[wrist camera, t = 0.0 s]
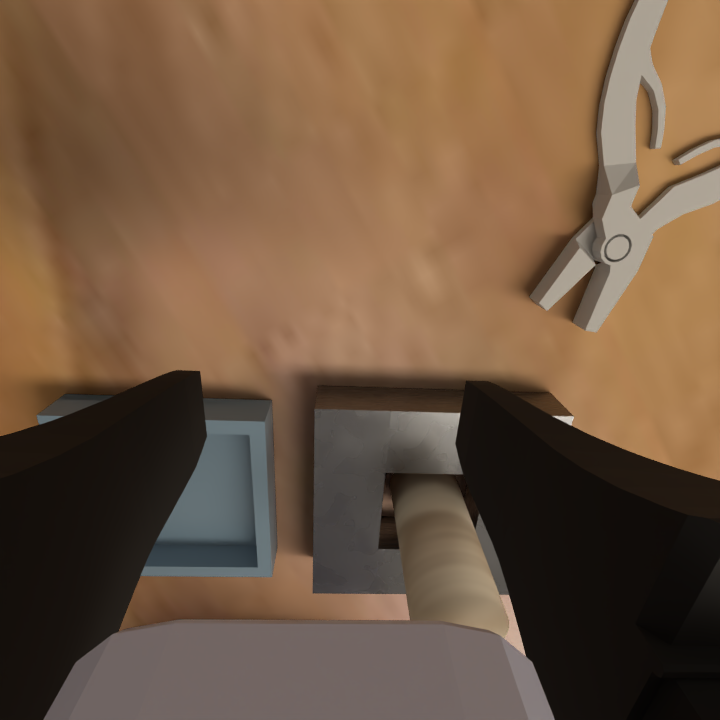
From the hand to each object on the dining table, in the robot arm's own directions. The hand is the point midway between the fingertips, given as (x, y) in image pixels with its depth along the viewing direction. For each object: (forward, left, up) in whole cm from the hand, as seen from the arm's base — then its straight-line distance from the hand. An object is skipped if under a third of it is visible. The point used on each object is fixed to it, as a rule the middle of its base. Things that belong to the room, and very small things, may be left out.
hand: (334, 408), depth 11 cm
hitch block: (-11, -6, -10) cm, 16 cm away
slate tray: (-11, +9, -10) cm, 17 cm away
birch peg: (-11, -6, -10) cm, 16 cm away
